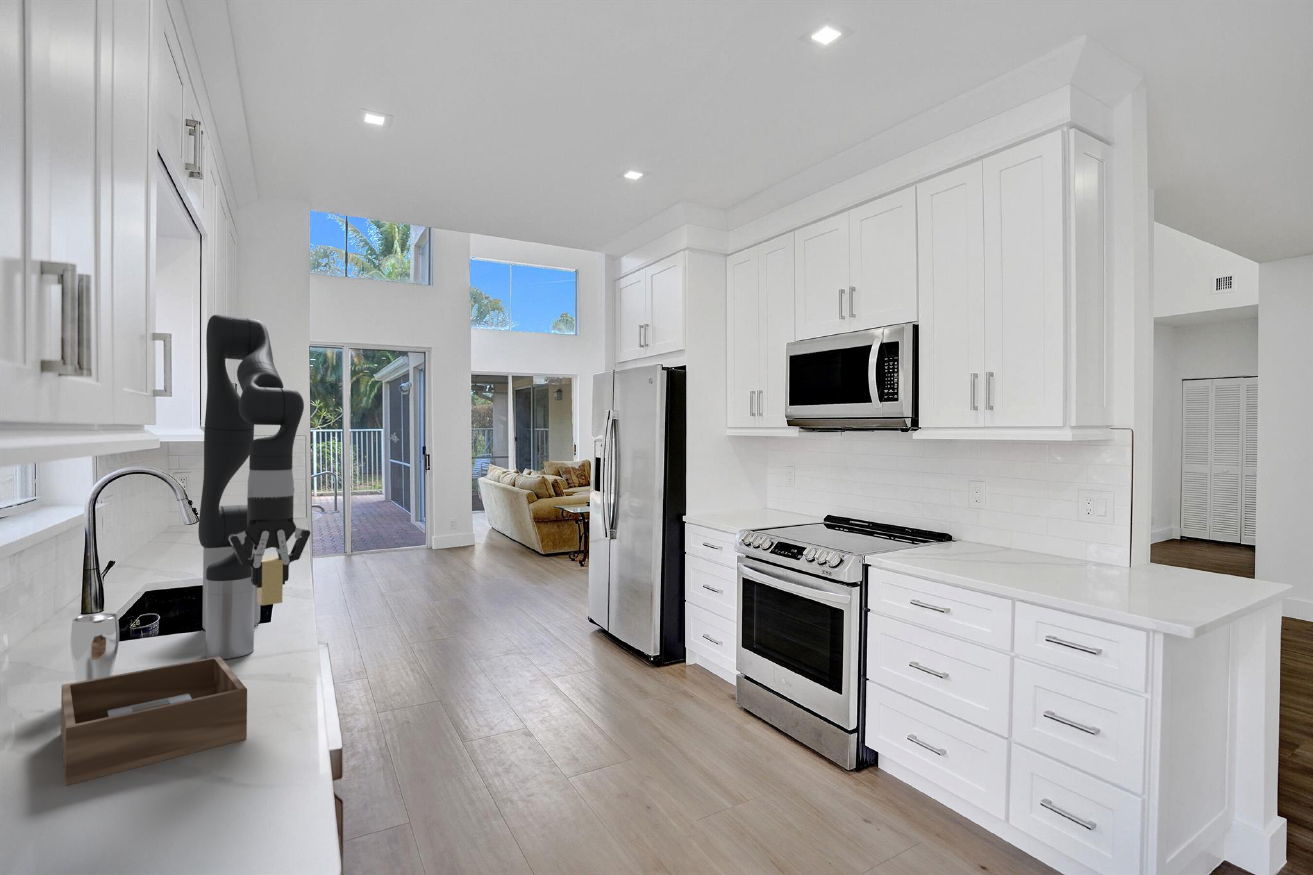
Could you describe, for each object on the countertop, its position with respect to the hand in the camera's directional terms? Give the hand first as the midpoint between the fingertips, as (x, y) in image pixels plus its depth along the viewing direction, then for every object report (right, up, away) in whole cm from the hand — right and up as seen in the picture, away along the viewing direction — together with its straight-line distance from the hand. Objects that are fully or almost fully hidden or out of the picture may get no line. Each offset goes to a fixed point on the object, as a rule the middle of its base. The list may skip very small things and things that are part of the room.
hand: (269, 585), depth 126 cm
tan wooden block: (0, -3, 0) cm, 3 cm away
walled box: (-9, -21, -17) cm, 28 cm away
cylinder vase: (-37, -21, +47) cm, 63 cm away
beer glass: (-32, -21, -1) cm, 38 cm away
